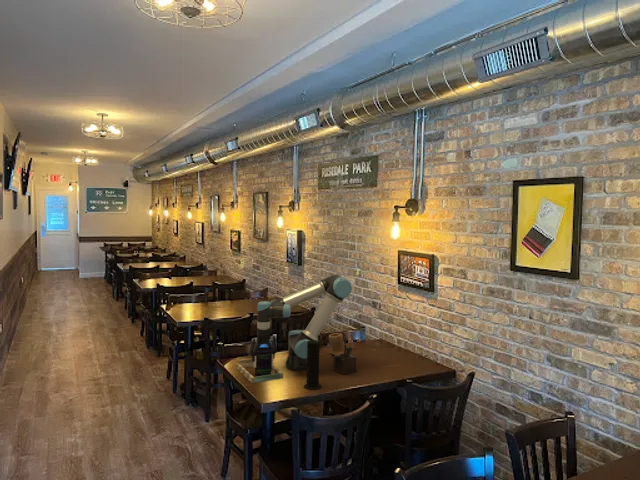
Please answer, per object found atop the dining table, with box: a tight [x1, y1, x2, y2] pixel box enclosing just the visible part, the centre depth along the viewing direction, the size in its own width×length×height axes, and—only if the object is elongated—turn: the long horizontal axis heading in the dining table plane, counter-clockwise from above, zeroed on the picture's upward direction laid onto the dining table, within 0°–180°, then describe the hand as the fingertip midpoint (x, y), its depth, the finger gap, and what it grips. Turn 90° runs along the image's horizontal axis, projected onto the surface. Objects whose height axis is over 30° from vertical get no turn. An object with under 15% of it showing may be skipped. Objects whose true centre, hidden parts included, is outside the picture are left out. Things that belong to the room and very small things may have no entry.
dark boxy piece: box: [332, 344, 357, 376], centre depth 288 cm, size 16×11×18 cm
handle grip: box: [303, 340, 322, 391], centre depth 263 cm, size 10×26×10 cm
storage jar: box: [254, 346, 272, 377], centre depth 278 cm, size 10×10×15 cm
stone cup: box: [328, 332, 352, 356], centre depth 323 cm, size 15×12×15 cm
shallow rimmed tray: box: [235, 357, 284, 384], centre depth 285 cm, size 29×19×5 cm, turn 28°
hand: (263, 365), depth 278 cm, fingers closed on storage jar, 10 cm apart
